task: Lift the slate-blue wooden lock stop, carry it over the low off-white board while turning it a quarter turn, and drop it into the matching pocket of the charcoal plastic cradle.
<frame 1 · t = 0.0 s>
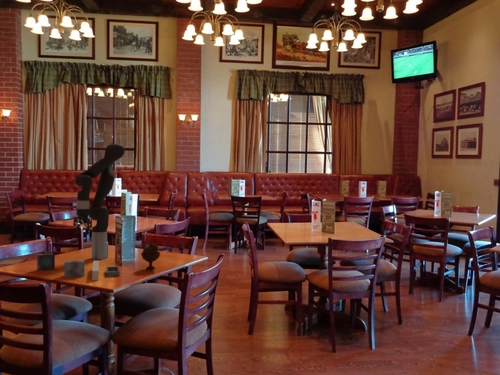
hand: (82, 234, 276), 17 cm above the table, tool pointing down, fingers open, 8 cm apart
ice cream bowl: (150, 269, 263), on the table
lock stop: (74, 275, 244), on the table
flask: (46, 270, 256), on the table
cradle: (112, 273, 251), on the table
door board: (95, 274, 248), on the table
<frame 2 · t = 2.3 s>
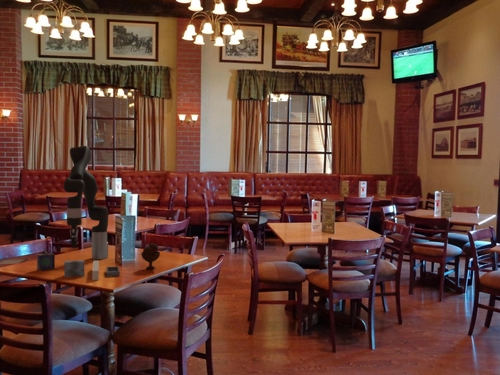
hand: (74, 246, 243), 16 cm above the table, tool pointing down, fingers open, 8 cm apart
nothing on the table moved.
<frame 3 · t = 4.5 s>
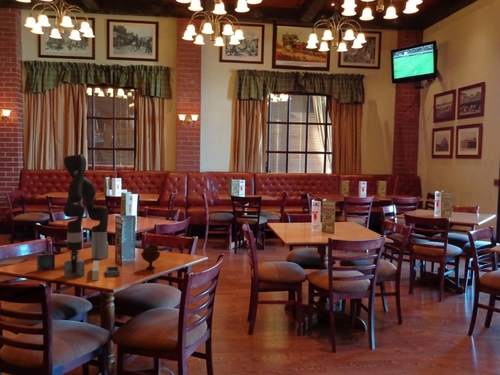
hand: (74, 271, 244), 2 cm above the table, tool pointing down, fingers closed on lock stop, 4 cm apart
lock stop: (74, 275, 244), on the table, touching gripper
everything else where it was.
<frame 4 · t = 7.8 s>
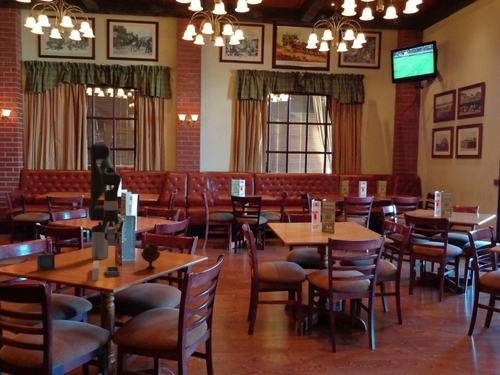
hand: (110, 239, 249), 19 cm above the table, tool pointing down, fingers closed on lock stop, 4 cm apart
lock stop: (110, 243, 249), point 17 cm above the table, touching gripper
everything else where it was.
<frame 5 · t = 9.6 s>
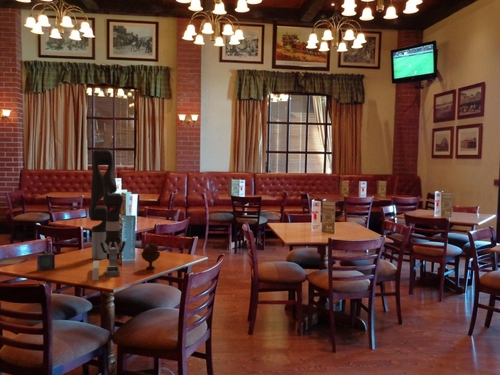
hand: (112, 259, 250), 8 cm above the table, tool pointing down, fingers closed on lock stop, 4 cm apart
lock stop: (112, 263, 250), point 5 cm above the table, touching gripper
everything else where it was.
when the fingers open (4 cm above the table, at t = 11.1 s): lock stop drops 1 cm, resting on cradle.
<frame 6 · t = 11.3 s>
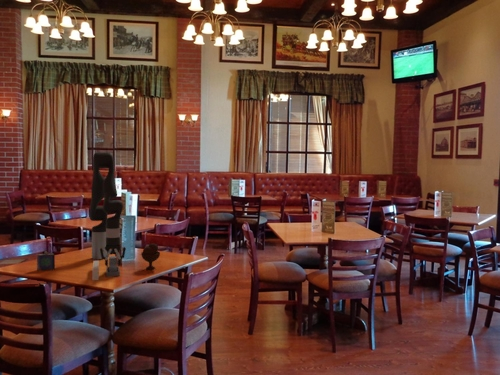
hand: (112, 265, 250), 4 cm above the table, tool pointing down, fingers open, 5 cm apart
lock stop: (112, 272, 251), point 1 cm above the table, touching cradle
everything else where it was.
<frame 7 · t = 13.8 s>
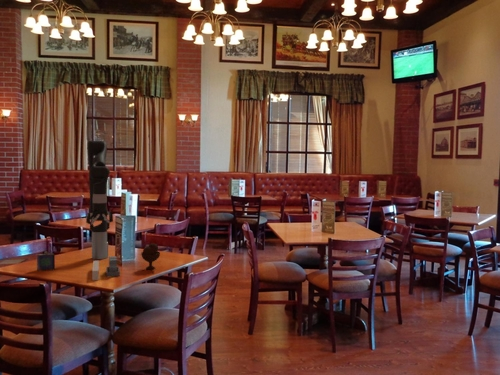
hand: (99, 230, 254), 23 cm above the table, tool pointing down, fingers open, 8 cm apart
nothing on the table moved.
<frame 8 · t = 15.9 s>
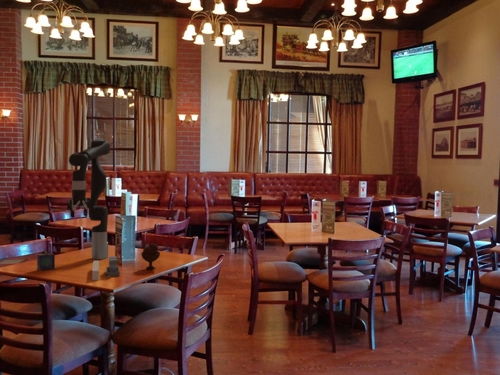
hand: (79, 216, 259), 30 cm above the table, tool pointing down, fingers open, 8 cm apart
nothing on the table moved.
at the end: lock stop 0.0 cm off-centre on the cradle, point 0.6 cm above the cradle's base; lock stop tilted 0°; the gripper is holding nothing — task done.
